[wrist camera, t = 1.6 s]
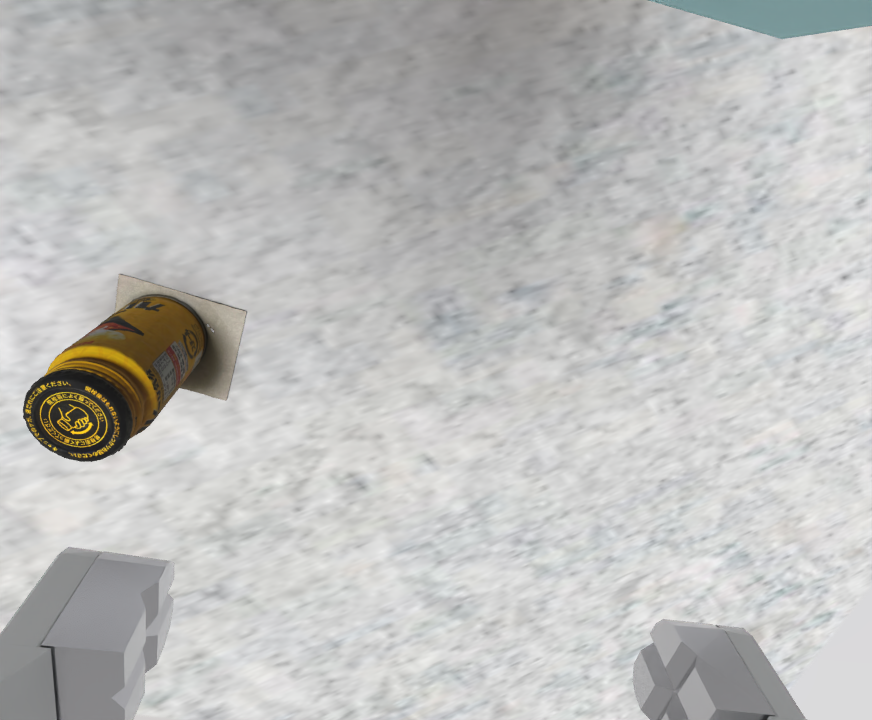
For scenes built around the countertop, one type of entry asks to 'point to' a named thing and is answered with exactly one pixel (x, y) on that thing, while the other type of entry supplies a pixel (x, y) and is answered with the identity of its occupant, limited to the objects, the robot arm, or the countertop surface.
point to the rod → (782, 14)
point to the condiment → (132, 369)
